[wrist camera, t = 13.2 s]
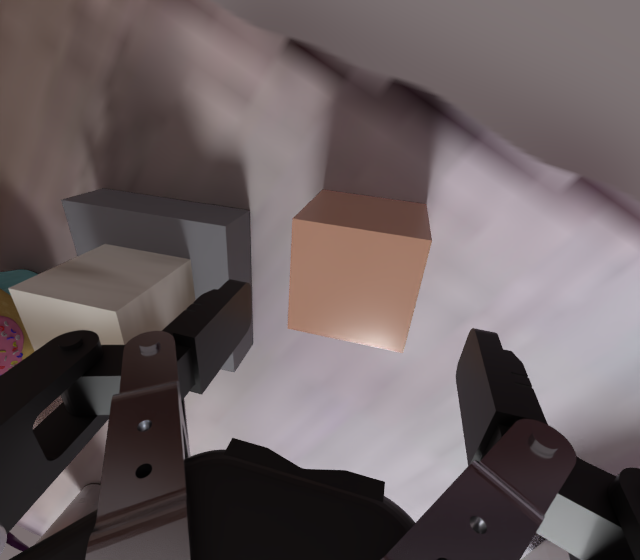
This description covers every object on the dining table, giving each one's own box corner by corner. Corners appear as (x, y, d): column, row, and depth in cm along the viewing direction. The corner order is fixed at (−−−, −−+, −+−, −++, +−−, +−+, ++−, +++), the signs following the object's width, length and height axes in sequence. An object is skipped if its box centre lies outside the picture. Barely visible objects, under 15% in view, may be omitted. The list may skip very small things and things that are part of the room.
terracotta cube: (404, 294, 20) (403, 353, 15) (315, 277, 21) (287, 328, 16) (426, 203, 18) (431, 240, 13) (323, 189, 18) (292, 218, 14)
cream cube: (199, 338, 21) (139, 404, 17) (124, 321, 22) (46, 379, 18) (190, 259, 19) (116, 311, 14) (105, 243, 20) (8, 288, 15)
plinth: (252, 344, 25) (234, 372, 22) (132, 317, 26) (102, 340, 24) (249, 210, 20) (225, 226, 17) (103, 188, 22) (61, 199, 19)
